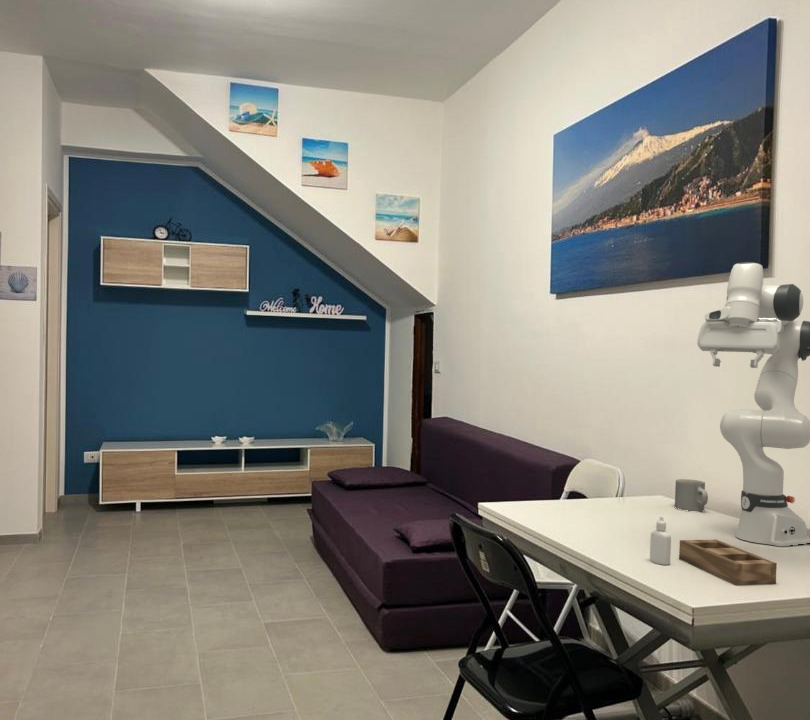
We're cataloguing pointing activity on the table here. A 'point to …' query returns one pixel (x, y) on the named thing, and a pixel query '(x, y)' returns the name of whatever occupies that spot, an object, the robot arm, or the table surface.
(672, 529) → the table surface
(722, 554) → the walnut slot rail
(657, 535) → the eye dropper bottle
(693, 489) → the coffee mug
